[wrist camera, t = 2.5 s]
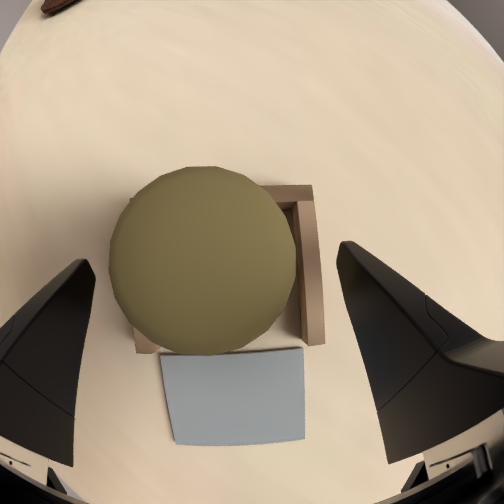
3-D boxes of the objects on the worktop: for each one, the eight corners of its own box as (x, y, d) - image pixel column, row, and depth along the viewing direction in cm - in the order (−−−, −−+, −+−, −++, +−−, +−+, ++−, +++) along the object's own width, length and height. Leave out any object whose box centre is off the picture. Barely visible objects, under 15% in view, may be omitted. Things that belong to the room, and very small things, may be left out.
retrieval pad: (304, 436, 15) (304, 438, 15) (176, 442, 15) (175, 444, 15) (302, 347, 16) (303, 348, 16) (161, 354, 16) (160, 355, 16)
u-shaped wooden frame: (317, 337, 16) (325, 343, 14) (146, 346, 16) (136, 353, 14) (305, 194, 17) (311, 184, 16) (140, 206, 17) (129, 198, 15)
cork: (160, 292, 16) (44, 300, 5) (205, 208, 17) (155, 102, 6) (245, 339, 16) (247, 430, 5) (290, 253, 17) (367, 202, 6)
